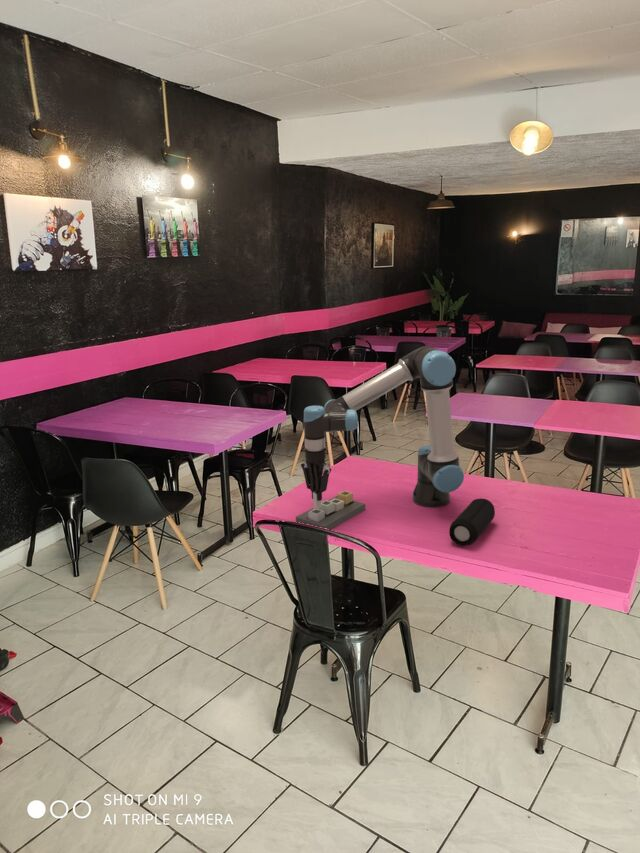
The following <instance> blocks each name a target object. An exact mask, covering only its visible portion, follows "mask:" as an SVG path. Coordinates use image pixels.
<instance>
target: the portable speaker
mask: <svg viewBox="0 0 640 853" xmlns="http://www.w3.org/2000/svg"><path fill="white" fill-rule="evenodd" d="M495 513H496V512H495V506H494V504H493V503H492V502H491V501H490V500H488V499H487V498H476V499H474V500H472V501H471V502H470V503H469V504H468V506H466V507H465V509H463V511H462V512H461V513H460V514H459V515H458V516H457V517H456V518H455V519H454V520H453V521H452V522H451V524H450V525H449V530H448V531H449V532H448V533H449V538H450V540H451V541H452V542H453V543H454V544H456V545H457V546H460V547H467V546H470V545H472V544H474V543H475V542H476V541H477V539H478V538H479V537H480V536H481V535H482V533H483V532H484V531H485V530H486V528H487V527H488V526H489V525H490V523H492V522H493V520H494V518H495Z"/></svg>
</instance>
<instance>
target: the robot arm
mask: <svg viewBox="0 0 640 853" xmlns="http://www.w3.org/2000/svg"><path fill="white" fill-rule="evenodd" d="M456 372H457V366H456V363H455V360H454V359H453V358H452V356H451V355H449V354H448V353H447V352H445V351H443V350H439V349H438V348H436V347H434V346H429V345H428V346H427V345H426V346H421V347H419V348H417V349H415V350H412V351H411V352H409V353H408V354H406V355H404V356H402V357H401V358H399V359H398V362H397V363H396V364H394V365H392V366H391V367H389V368H387V369H386V370H385V371H382V372H381V373H379V374H378V375H375V377H372V378H371V379H368V381H366V382H364V383H362V384H361V385H359V386H357V387H356V388H354V389H352V390H351V391H349V392H347V393H345V394H344V395H342V396H340V397H338V398H337V399H328V401H327V402H325V404H324V406H322V405H309V406H307V407H305V408H304V410H303V432H304V458H305V462H303V463H301V464H300V466H301V469H302V472H303V475H304V480H305V485H306V489H308V490H310V491H311V499H312V505H313V506H312V508H314V509H318V508H320V507H321V502H322V500H323V492H325V491H327V488H328V484H329V483H328V482H329V476H330V473H331V471H332V468H331V467H330V468H329V467H328V466H327V463H326V455H327V453H326V452H327V451H326V433H333V432H344V431H345V432H349V431H354V430H357V428H358V425H359V417H358V413H357V411H358V410H360V409H361V408H363V407H365V406H366V405H368V404H370V403H372V402H374V401H375V400H377V399H379V398H381V397H382V396H384V395H385V394H387V393H389V392H390V391H392V390H394V389H396V388H398V387H399V386H401V385H403V384H404V383H406V382H407V381H410V382H413V381H414V380H416V379H418V378H419V382H420V389H421V390H422V391H423V392H424V393H425V404H426V413H427V423H428V424H427V425H428V434H429V444H428V445H423V446H420V447H418V454H417V481H416V484H415V487H414V490H413V491H412V501H413V502H414V503H415V504H417V505H419V506H423V507H428V508H430V507H431V508H438V507H439V508H441V507H444V506H447V505H448V504H449V503H450V501H451V494H450V493H451V492H454V491H456V490H458V489H459V488H460V487H461V486H462V484H463V483H464V480H465V475H464V470H463V469H462V468H461V467H460V459H459V453H458V452H457V451H455V446H454V435H453V424H452V423H453V422H452V412H451V411H452V409H451V399H450V390H451V388H452V387H453V386H454V382H453V379H454V377H455V375H456Z"/></svg>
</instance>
